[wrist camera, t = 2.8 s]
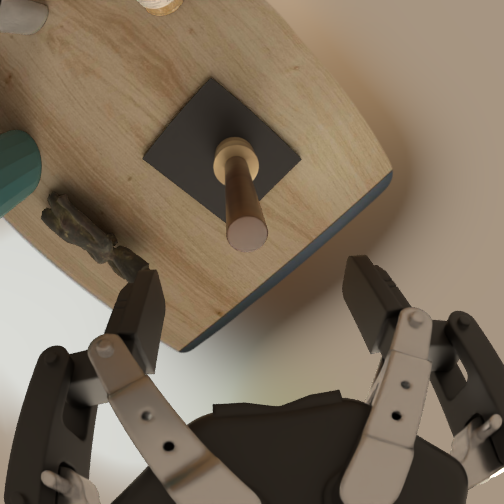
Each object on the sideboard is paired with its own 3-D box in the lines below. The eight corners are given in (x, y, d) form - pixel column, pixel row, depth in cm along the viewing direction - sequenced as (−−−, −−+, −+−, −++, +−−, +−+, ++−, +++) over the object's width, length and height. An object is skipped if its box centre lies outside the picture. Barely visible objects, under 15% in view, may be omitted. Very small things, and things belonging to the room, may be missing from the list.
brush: (206, 157, 31) (188, 239, 15) (233, 128, 30) (245, 178, 14) (235, 181, 33) (249, 282, 17) (262, 154, 32) (305, 231, 16)
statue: (56, 208, 35) (160, 289, 39) (32, 226, 31) (144, 315, 35) (65, 175, 32) (179, 261, 36) (38, 190, 27) (162, 288, 32)
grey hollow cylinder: (54, 11, 19) (6, -1, 10) (32, 40, 20) (-18, 37, 11) (38, -1, 17) (-8, -13, 8) (17, 27, 18) (-31, 23, 9)
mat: (143, 157, 31) (142, 158, 31) (211, 77, 27) (211, 77, 27) (232, 226, 37) (232, 228, 36) (300, 158, 33) (301, 159, 32)
